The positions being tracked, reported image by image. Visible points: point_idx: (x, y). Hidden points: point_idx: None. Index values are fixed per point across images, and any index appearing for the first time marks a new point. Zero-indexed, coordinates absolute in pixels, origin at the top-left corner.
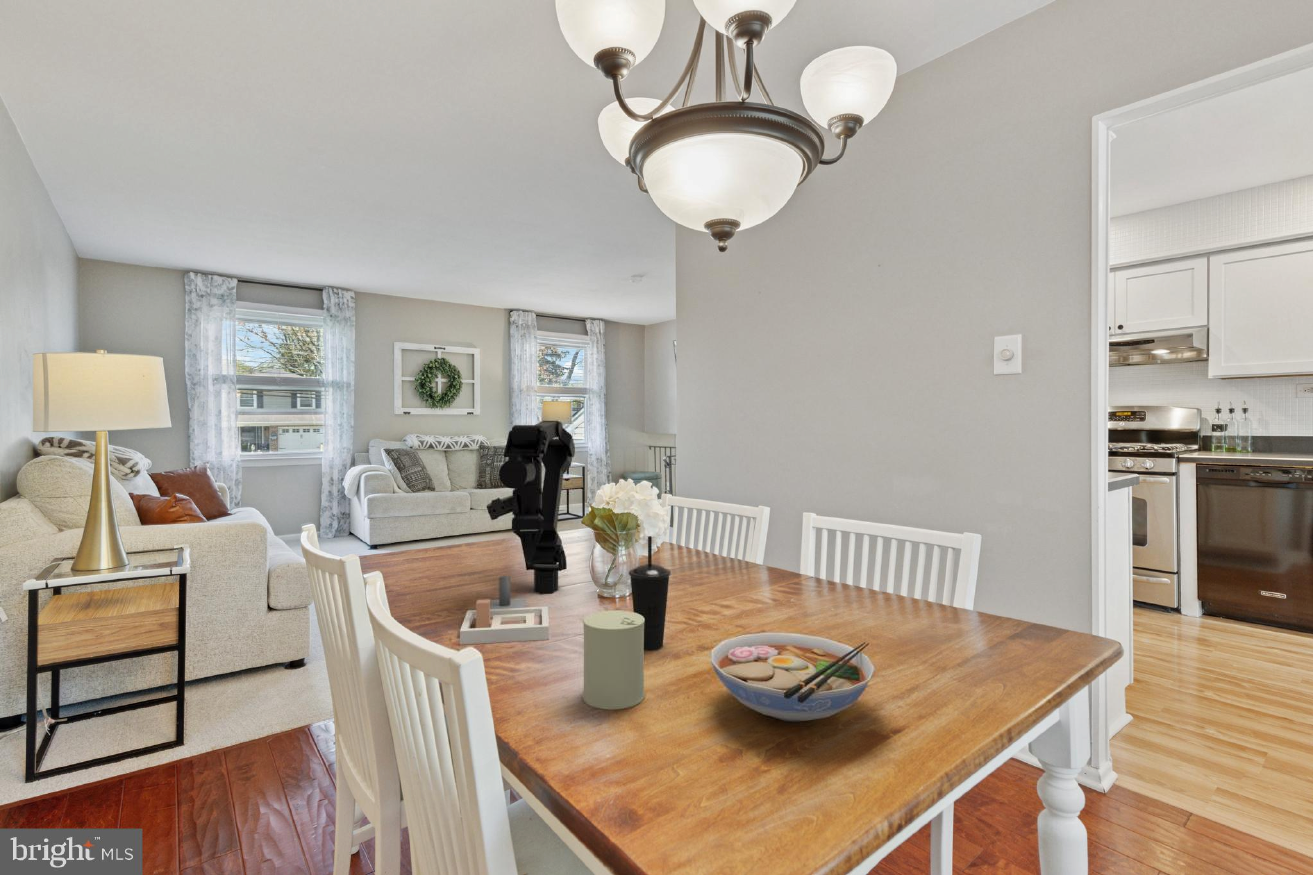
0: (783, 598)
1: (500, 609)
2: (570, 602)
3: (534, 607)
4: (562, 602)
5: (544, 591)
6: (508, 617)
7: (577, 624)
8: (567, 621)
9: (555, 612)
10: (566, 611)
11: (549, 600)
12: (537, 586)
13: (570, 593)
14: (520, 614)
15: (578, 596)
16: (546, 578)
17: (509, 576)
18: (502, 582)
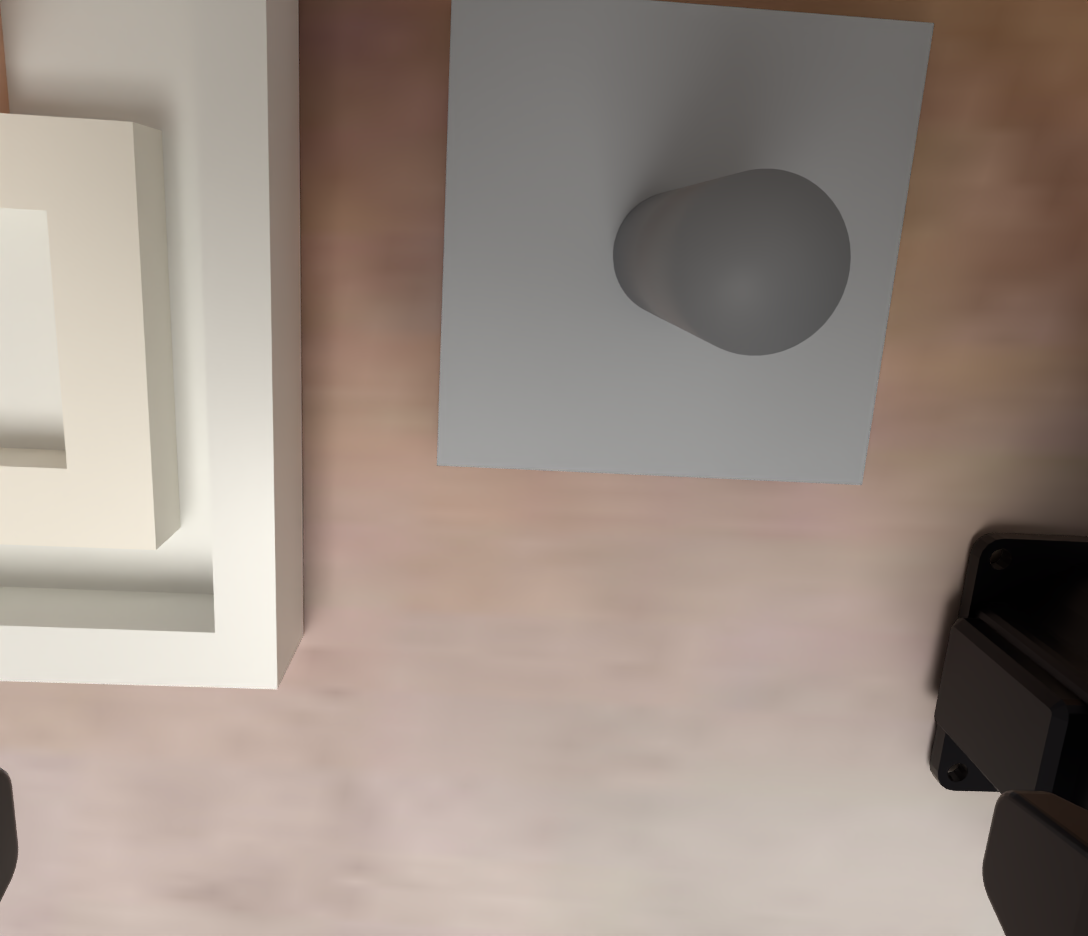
0: None
1: (243, 201)
2: (752, 842)
3: (264, 565)
4: (773, 781)
5: (968, 675)
6: (57, 287)
7: (103, 848)
8: (196, 783)
9: (478, 707)
10: (487, 794)
11: (874, 679)
12: (1079, 627)
13: None
14: (121, 414)
15: (918, 914)
16: (1049, 772)
17: (783, 341)
18: (665, 226)
